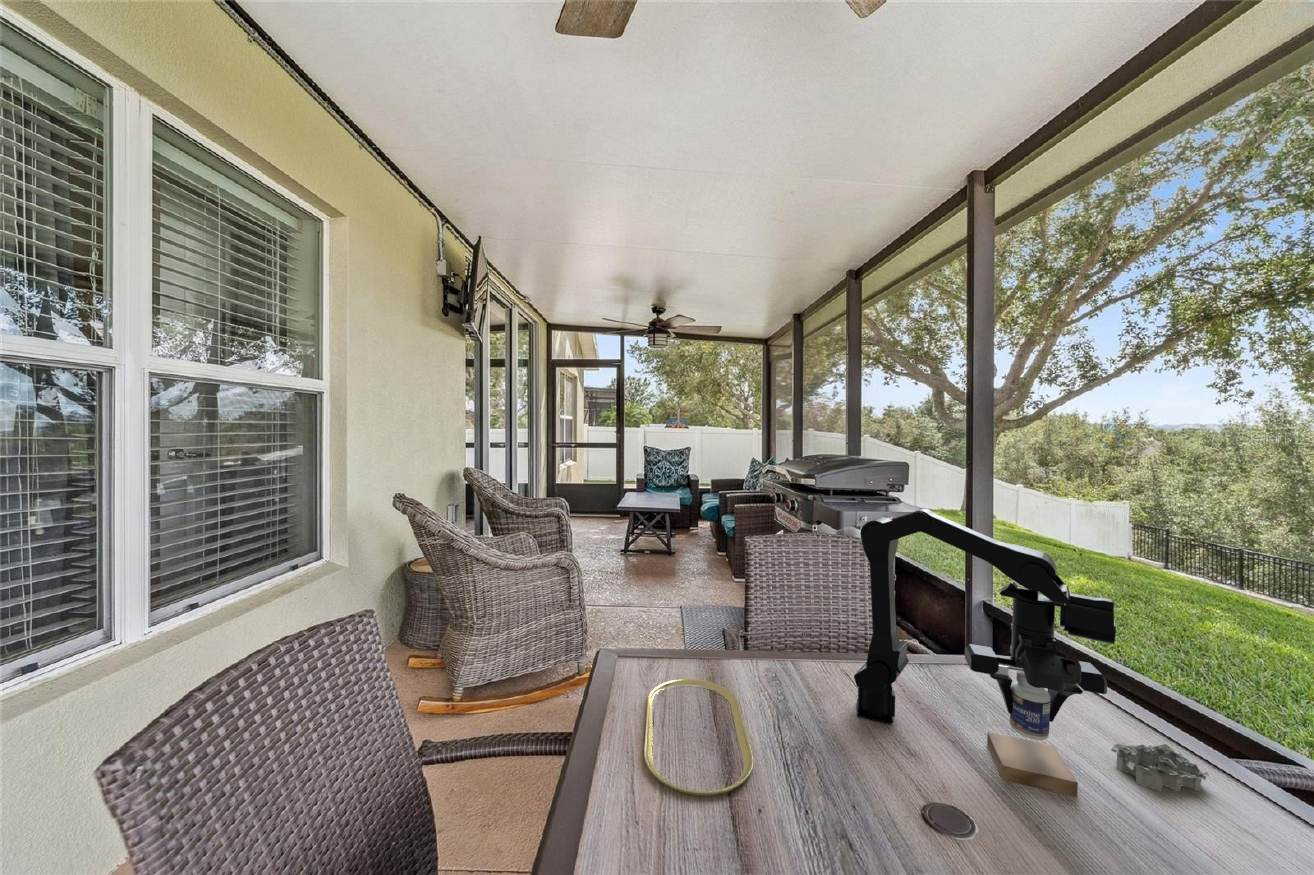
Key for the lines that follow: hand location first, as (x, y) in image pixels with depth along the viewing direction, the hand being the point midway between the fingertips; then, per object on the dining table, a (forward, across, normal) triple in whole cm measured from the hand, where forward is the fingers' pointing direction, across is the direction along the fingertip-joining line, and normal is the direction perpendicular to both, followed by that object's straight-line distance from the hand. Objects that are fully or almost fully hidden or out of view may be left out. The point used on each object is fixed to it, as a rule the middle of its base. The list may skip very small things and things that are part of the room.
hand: (1029, 716), depth 85 cm
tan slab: (+9, 0, 0) cm, 9 cm away
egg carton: (+9, +20, +7) cm, 23 cm away
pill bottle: (+3, 0, 0) cm, 3 cm away
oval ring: (+10, -56, -12) cm, 58 cm away
